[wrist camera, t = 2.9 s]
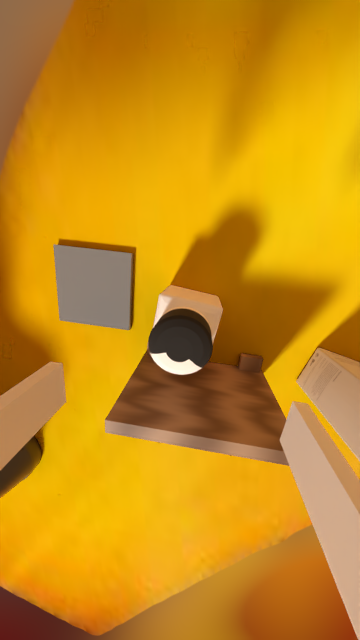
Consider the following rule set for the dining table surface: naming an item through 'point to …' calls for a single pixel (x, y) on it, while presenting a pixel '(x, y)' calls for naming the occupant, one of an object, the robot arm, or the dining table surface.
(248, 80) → the dining table surface
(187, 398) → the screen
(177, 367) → the medicine bottle
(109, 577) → the dining table surface
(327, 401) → the skincare box
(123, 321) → the coaster
